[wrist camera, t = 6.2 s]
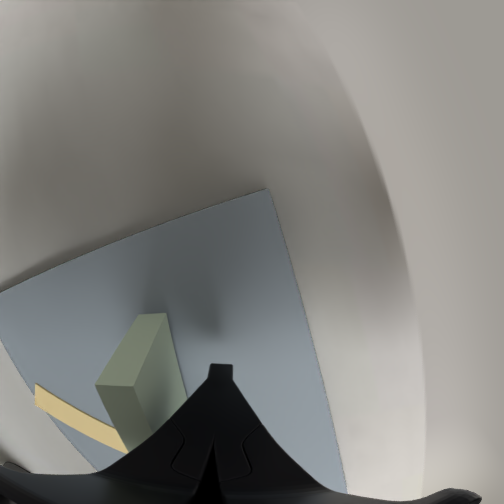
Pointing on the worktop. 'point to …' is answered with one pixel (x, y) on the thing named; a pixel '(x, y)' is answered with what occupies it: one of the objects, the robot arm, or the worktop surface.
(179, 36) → the worktop surface
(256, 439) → the robot arm
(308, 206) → the worktop surface
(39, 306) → the board
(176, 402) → the fence panel
